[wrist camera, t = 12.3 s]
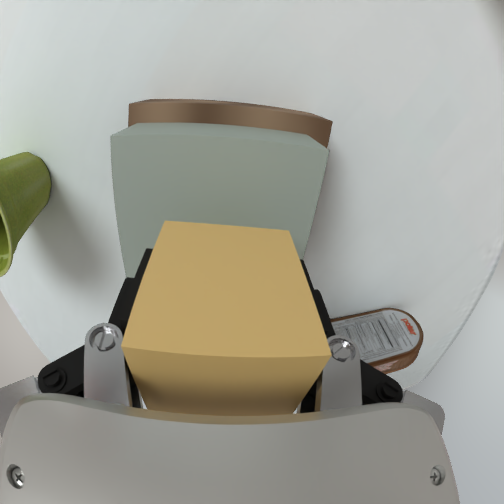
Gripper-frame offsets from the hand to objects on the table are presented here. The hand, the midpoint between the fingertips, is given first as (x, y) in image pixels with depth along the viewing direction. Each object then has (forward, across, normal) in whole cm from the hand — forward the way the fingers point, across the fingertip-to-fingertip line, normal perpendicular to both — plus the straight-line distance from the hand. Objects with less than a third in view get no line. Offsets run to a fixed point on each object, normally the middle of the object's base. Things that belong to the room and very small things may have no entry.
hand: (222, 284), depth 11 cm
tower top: (+7, +1, 0) cm, 7 cm away
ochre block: (+1, 0, 0) cm, 1 cm away
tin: (+12, -17, +15) cm, 26 cm away
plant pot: (+12, +19, 0) cm, 23 cm away
